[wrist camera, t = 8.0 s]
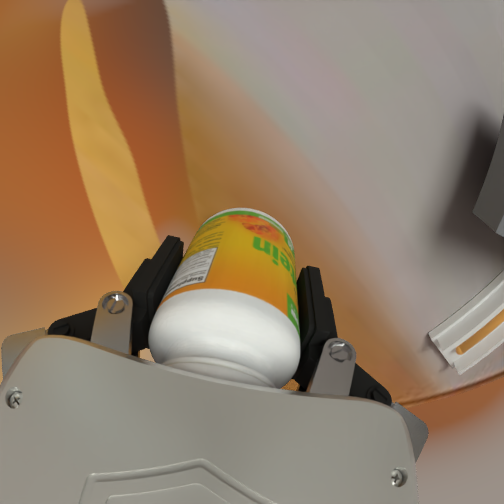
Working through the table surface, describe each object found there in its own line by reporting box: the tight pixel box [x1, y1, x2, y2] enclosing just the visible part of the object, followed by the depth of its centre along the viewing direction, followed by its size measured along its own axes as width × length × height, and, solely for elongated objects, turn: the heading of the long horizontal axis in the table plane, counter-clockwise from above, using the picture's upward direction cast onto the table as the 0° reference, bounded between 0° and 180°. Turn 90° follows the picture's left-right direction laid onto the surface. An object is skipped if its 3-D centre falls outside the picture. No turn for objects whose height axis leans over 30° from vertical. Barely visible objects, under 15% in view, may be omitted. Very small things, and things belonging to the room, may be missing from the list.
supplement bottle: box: [148, 208, 300, 389], centre depth 11 cm, size 5×5×10 cm
